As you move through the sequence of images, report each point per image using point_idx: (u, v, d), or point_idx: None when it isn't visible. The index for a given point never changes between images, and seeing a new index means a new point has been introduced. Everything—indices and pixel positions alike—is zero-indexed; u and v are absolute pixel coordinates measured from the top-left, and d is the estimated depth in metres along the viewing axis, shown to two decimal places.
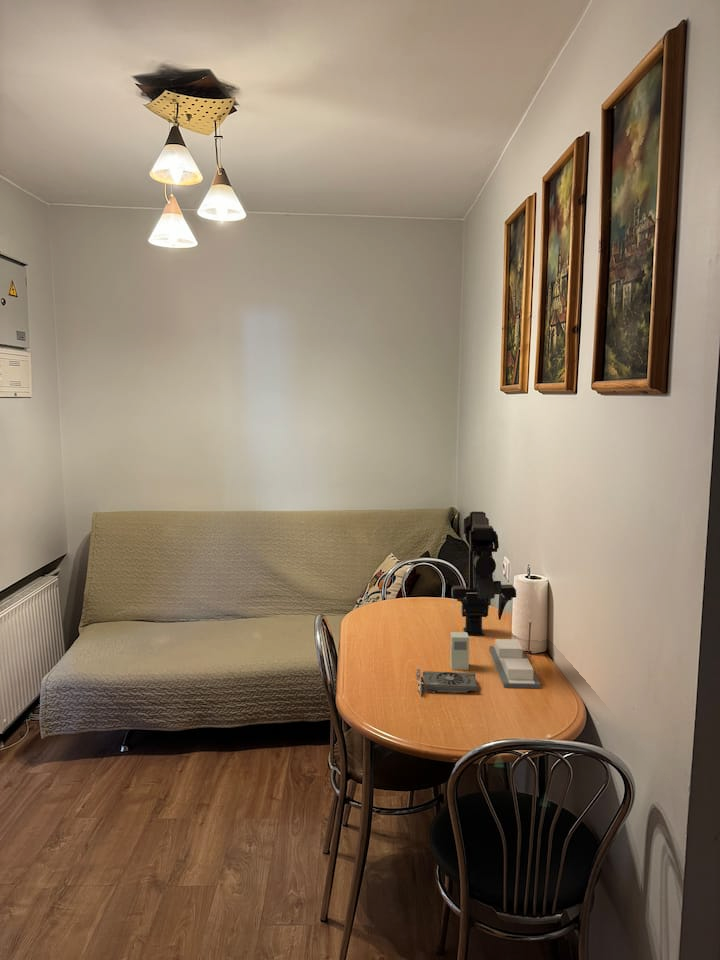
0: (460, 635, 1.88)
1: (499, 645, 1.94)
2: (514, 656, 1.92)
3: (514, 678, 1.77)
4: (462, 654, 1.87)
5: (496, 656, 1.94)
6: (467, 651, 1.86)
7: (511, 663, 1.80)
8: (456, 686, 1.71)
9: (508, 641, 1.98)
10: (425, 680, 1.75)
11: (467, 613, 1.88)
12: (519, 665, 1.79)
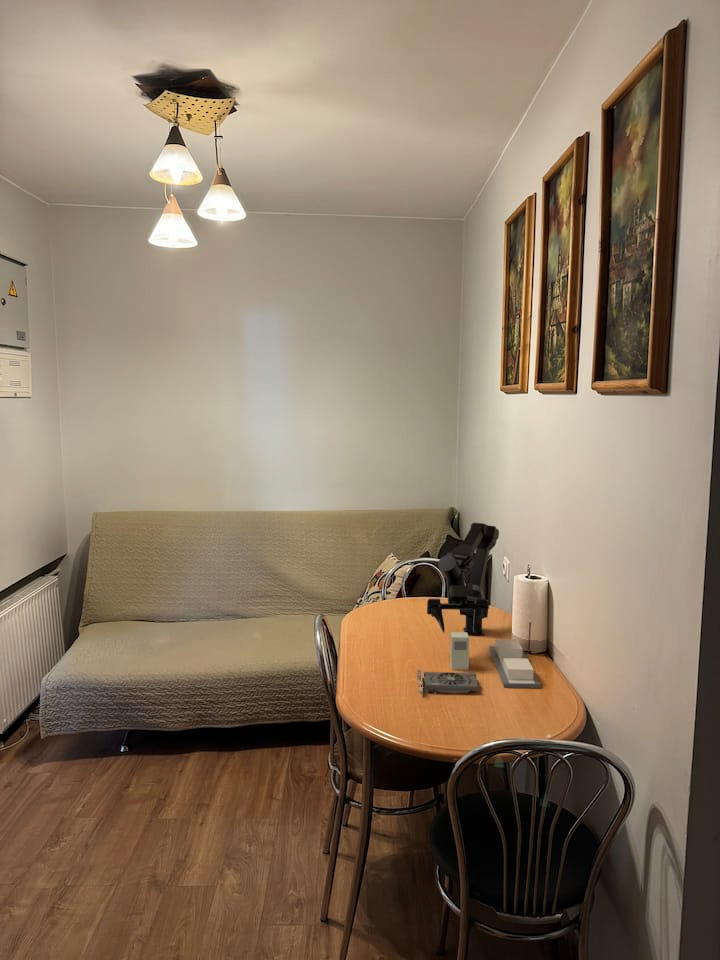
0: (459, 635, 1.88)
1: (499, 645, 1.94)
2: (514, 656, 1.92)
3: (514, 678, 1.77)
4: (462, 654, 1.87)
5: (496, 656, 1.94)
6: (467, 651, 1.86)
7: (511, 663, 1.80)
8: (457, 686, 1.71)
9: (508, 641, 1.98)
10: (426, 681, 1.74)
11: (442, 623, 1.90)
12: (519, 665, 1.79)
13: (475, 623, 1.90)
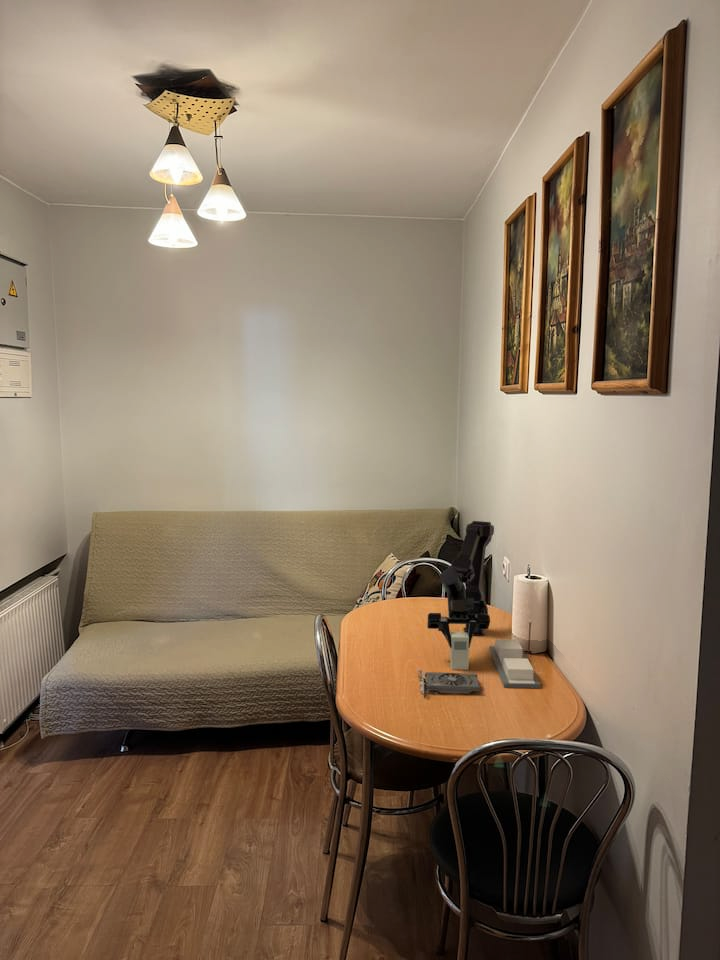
0: (459, 635, 1.88)
1: (499, 645, 1.94)
2: (514, 656, 1.92)
3: (514, 678, 1.77)
4: (462, 654, 1.87)
5: (496, 656, 1.94)
6: (467, 651, 1.86)
7: (511, 663, 1.80)
8: (459, 687, 1.71)
9: (508, 641, 1.98)
10: (427, 681, 1.74)
11: (449, 638, 1.88)
12: (519, 665, 1.79)
13: (470, 638, 1.88)
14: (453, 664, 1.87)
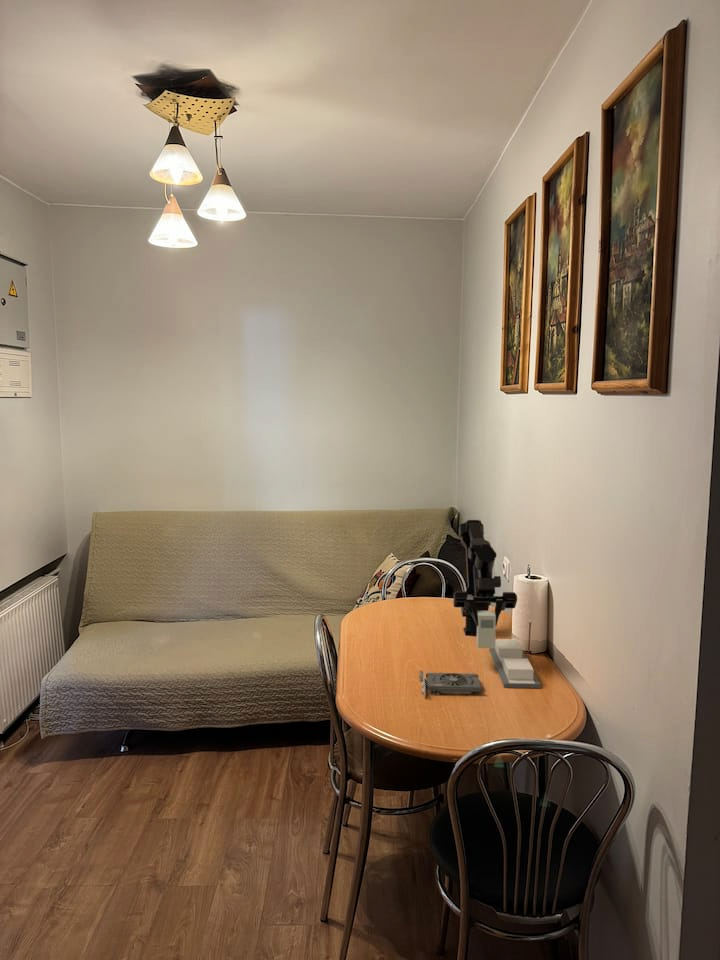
0: (486, 613, 1.87)
1: (499, 645, 1.94)
2: (514, 656, 1.92)
3: (514, 678, 1.77)
4: (489, 632, 1.85)
5: (496, 656, 1.94)
6: (494, 629, 1.85)
7: (511, 663, 1.80)
8: (460, 687, 1.70)
9: (508, 641, 1.98)
10: (429, 682, 1.74)
11: (476, 616, 1.87)
12: (519, 665, 1.79)
13: (497, 616, 1.87)
14: (480, 642, 1.86)
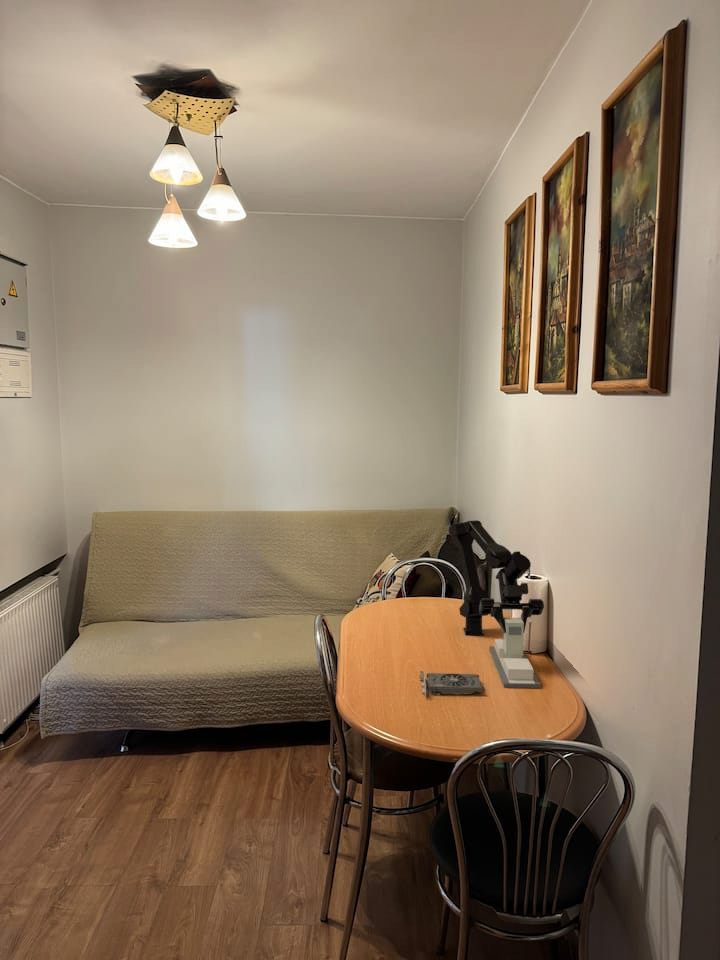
0: (514, 620, 1.87)
1: (499, 645, 1.94)
2: (514, 656, 1.92)
3: (514, 678, 1.77)
4: (517, 639, 1.85)
5: (496, 656, 1.94)
6: (522, 636, 1.85)
7: (511, 663, 1.80)
8: (461, 688, 1.70)
9: None
10: (429, 682, 1.73)
11: (503, 623, 1.87)
12: (519, 665, 1.79)
13: (524, 623, 1.87)
14: (507, 650, 1.86)
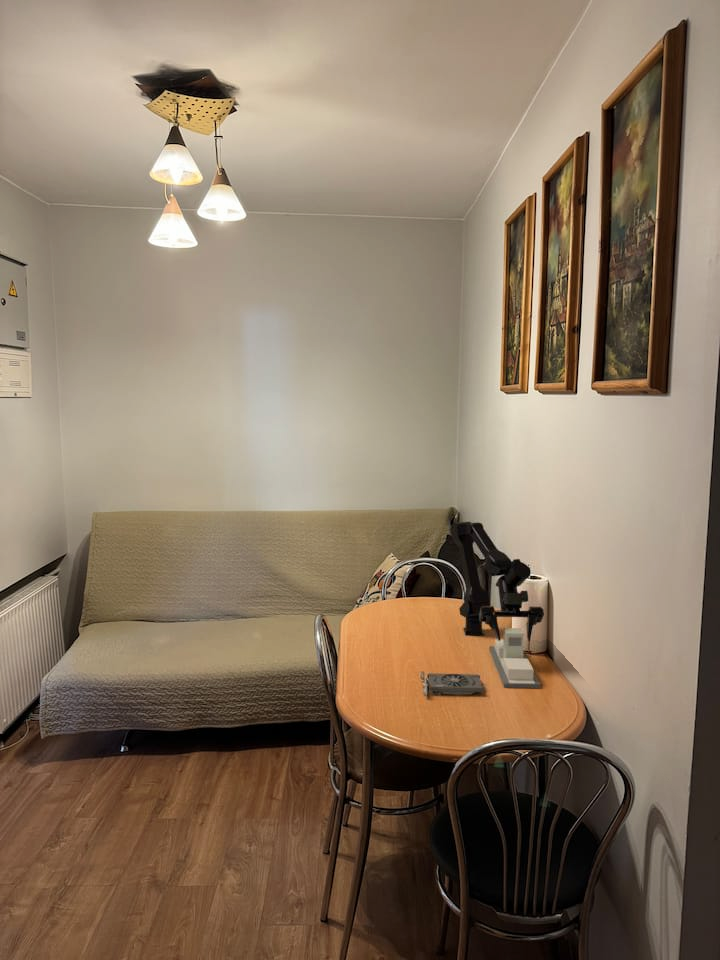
0: (514, 631, 1.87)
1: (499, 645, 1.94)
2: None
3: (514, 678, 1.77)
4: (517, 650, 1.86)
5: (496, 656, 1.94)
6: (522, 647, 1.85)
7: (511, 663, 1.80)
8: (462, 688, 1.70)
9: None
10: (430, 682, 1.73)
11: (497, 631, 1.87)
12: (519, 665, 1.79)
13: (530, 631, 1.87)
14: None
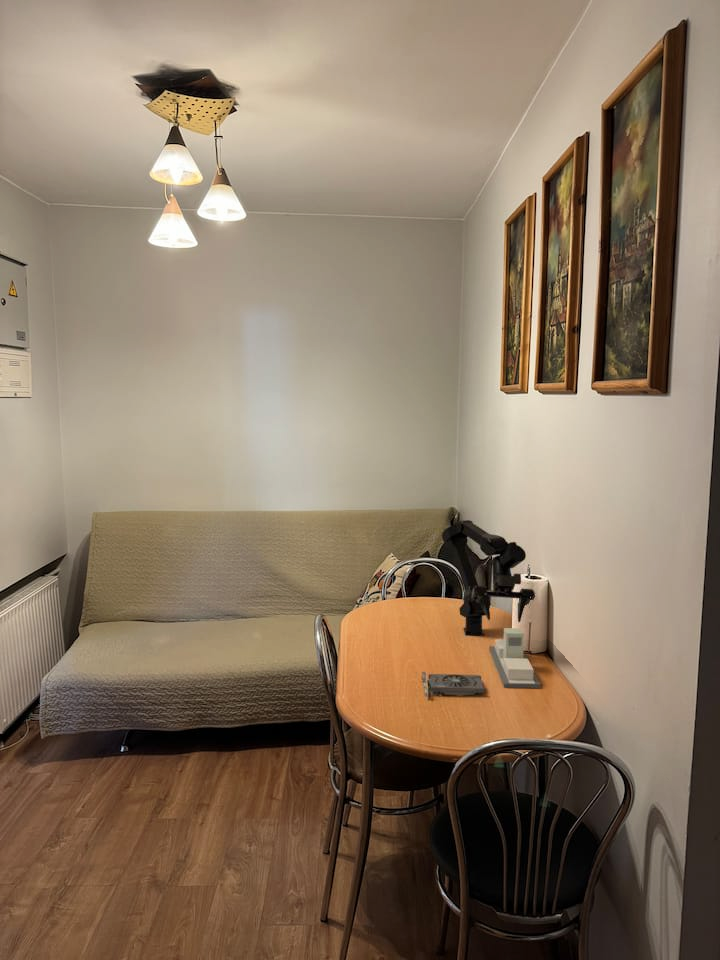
0: (514, 631, 1.87)
1: (499, 645, 1.94)
2: None
3: (514, 678, 1.77)
4: (517, 650, 1.86)
5: (496, 656, 1.94)
6: (522, 647, 1.85)
7: (511, 663, 1.80)
8: (463, 688, 1.70)
9: None
10: (431, 683, 1.73)
11: (488, 611, 1.92)
12: (519, 665, 1.79)
13: (520, 613, 1.92)
14: None
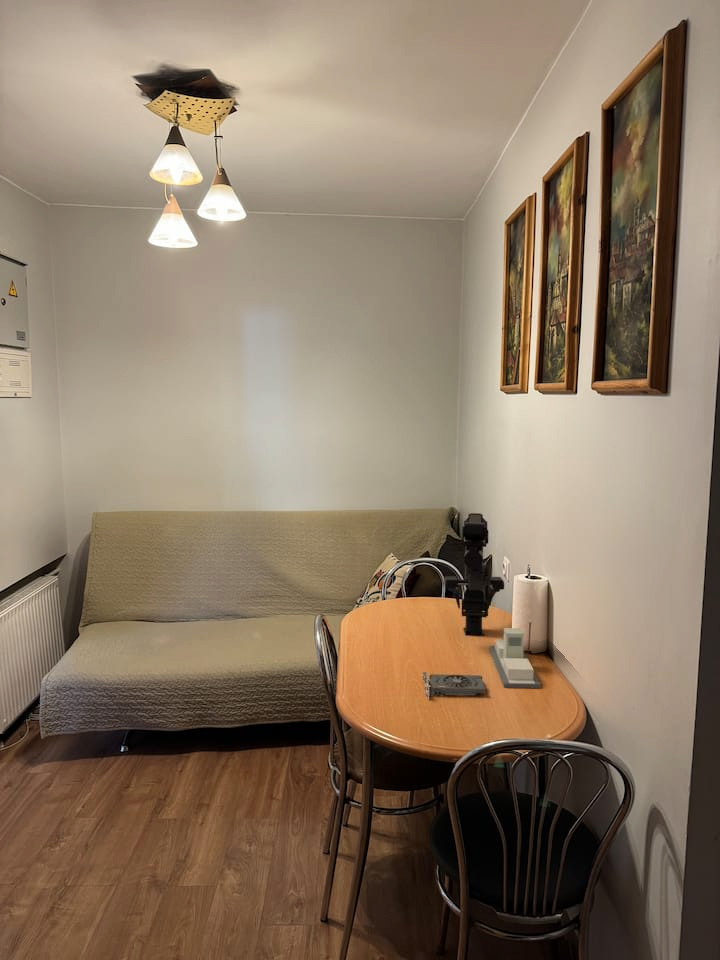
0: (514, 631, 1.87)
1: (499, 645, 1.94)
2: None
3: (514, 678, 1.77)
4: (517, 650, 1.86)
5: (496, 656, 1.94)
6: (522, 647, 1.85)
7: (511, 663, 1.80)
8: (464, 689, 1.69)
9: None
10: (432, 683, 1.73)
11: (458, 602, 2.03)
12: (519, 665, 1.79)
13: (489, 602, 2.02)
14: None
